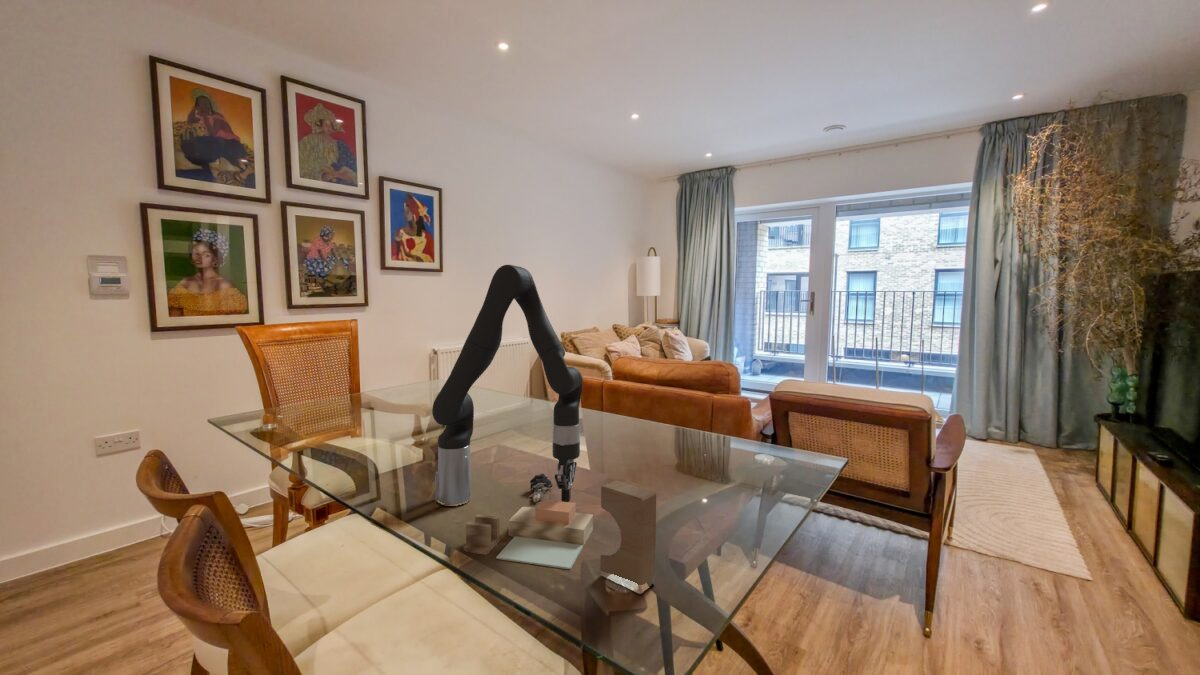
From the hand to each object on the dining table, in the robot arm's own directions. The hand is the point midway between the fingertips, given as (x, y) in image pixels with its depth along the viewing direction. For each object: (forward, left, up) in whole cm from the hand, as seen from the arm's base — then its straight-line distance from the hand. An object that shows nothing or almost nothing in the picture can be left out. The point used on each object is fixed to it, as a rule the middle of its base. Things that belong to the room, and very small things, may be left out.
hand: (566, 501), depth 129 cm
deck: (-1, -9, -5) cm, 10 cm away
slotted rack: (-15, -19, -5) cm, 25 cm away
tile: (0, -8, -1) cm, 9 cm away
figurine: (-13, +15, -5) cm, 20 cm away
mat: (0, -19, -5) cm, 20 cm away
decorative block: (+22, -25, -5) cm, 34 cm away
